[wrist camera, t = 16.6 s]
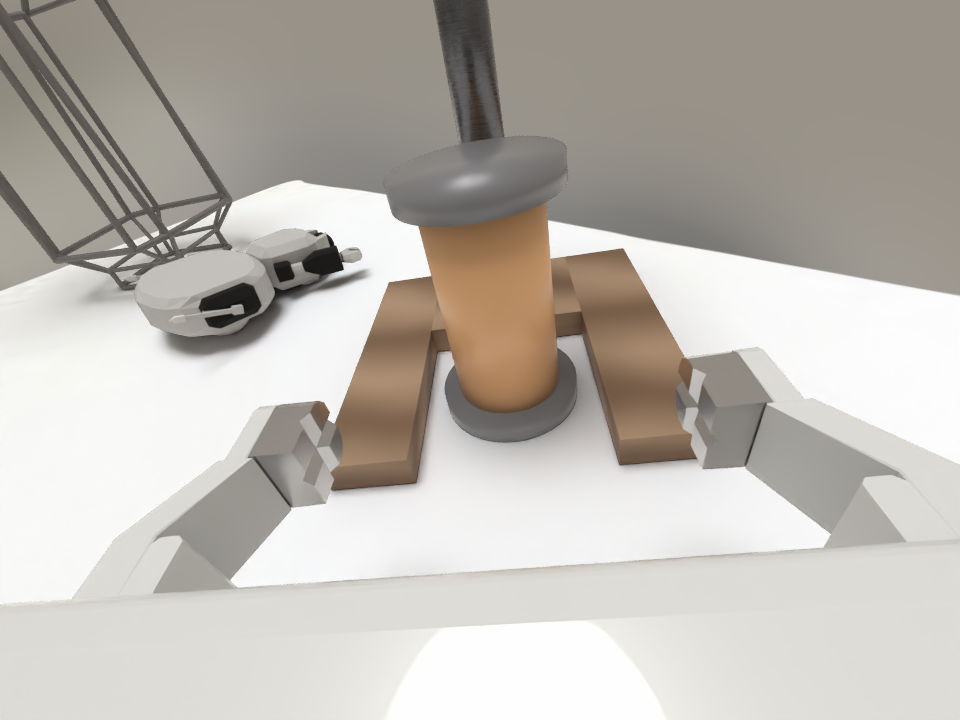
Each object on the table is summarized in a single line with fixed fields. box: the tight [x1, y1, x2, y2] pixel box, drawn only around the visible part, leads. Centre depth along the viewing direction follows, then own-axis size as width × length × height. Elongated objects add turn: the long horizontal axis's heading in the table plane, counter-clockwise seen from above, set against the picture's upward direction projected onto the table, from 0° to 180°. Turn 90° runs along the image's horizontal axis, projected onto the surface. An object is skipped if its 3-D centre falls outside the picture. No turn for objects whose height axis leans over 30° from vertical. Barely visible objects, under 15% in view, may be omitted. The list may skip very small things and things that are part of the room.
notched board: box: [331, 248, 697, 490], centre depth 24 cm, size 16×16×2 cm
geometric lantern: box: [0, 0, 232, 290], centre depth 35 cm, size 16×16×35 cm
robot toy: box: [123, 228, 362, 337], centre depth 35 cm, size 12×4×15 cm
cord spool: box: [383, 136, 577, 442], centre depth 19 cm, size 6×6×11 cm
